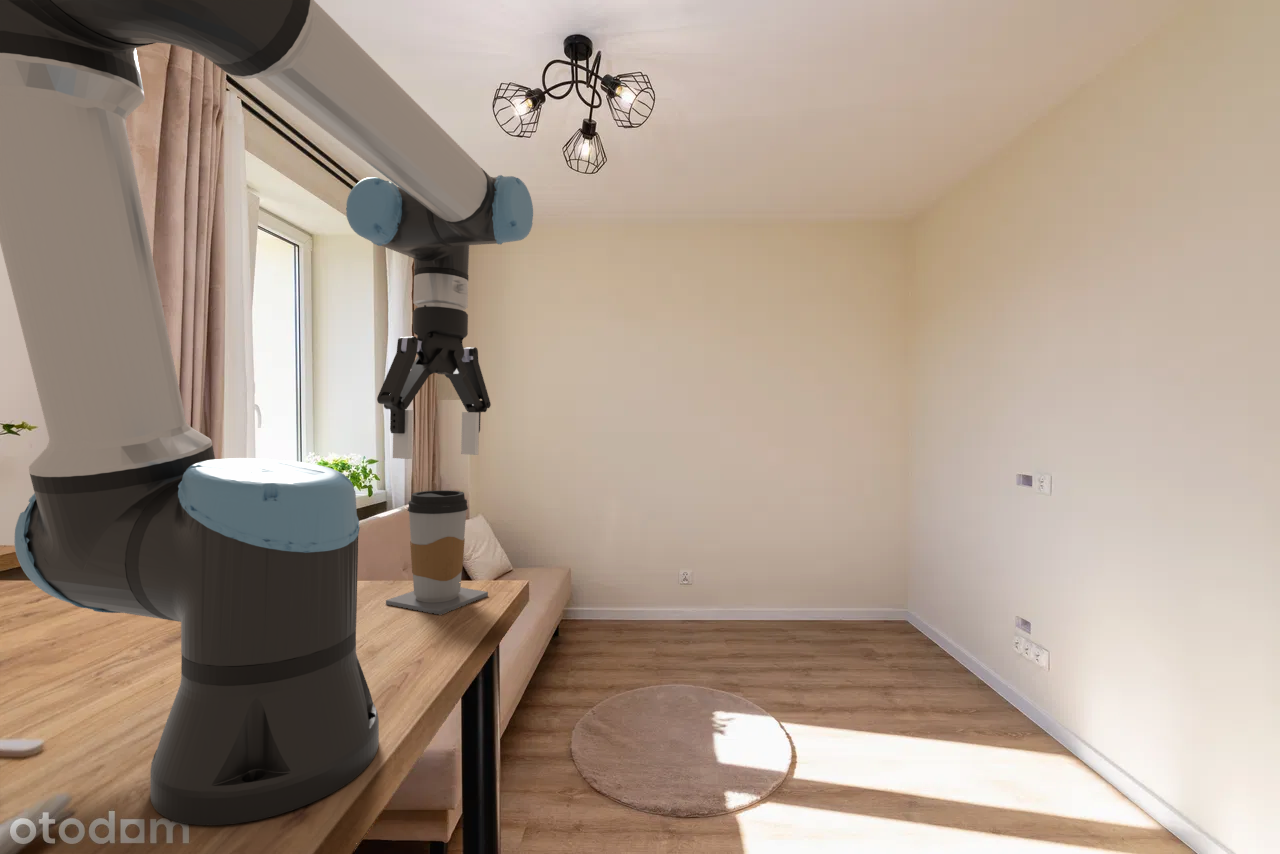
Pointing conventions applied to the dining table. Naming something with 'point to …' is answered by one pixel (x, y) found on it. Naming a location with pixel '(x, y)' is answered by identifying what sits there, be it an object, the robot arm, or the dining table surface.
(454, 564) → the coffee cup
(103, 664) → the dining table surface
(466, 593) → the coaster
